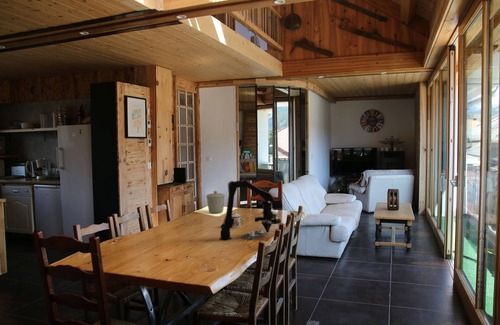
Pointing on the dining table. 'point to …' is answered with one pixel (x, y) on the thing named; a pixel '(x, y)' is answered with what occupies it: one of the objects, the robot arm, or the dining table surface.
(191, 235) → the dining table surface
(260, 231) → the tab
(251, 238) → the switch bank
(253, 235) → the tab
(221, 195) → the canister
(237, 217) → the teacup with lid
